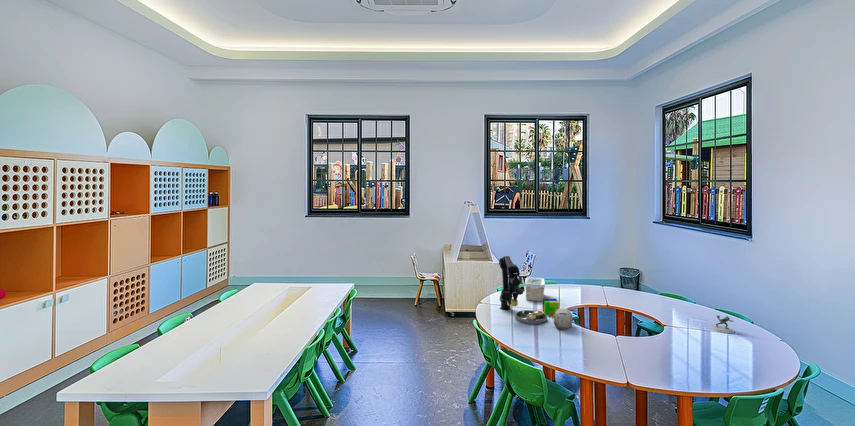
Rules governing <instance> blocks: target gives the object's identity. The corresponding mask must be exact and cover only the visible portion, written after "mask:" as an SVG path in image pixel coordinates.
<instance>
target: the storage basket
mask: <svg viewBox="0 0 855 426" xmlns="http://www.w3.org/2000/svg"><path fill="white" fill-rule="evenodd" d="M524 282H525V283H524V289H525V300H527V301H536V302H537V301H538V302H543V298H545V293H544V292H545V287H546V282H545V278H544V277H526V278H525V281H524Z"/></svg>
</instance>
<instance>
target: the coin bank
mask: <svg viewBox="0 0 855 426" xmlns="http://www.w3.org/2000/svg"><path fill="white" fill-rule="evenodd" d="M552 318H553V323H554V325H555V326H556V328H558V329H560V330H568V329H569V328H571V327H573V320H574V317H573V315H572V313H571V311H570V310H569V309H567V308H563V307H562V308H560V307H559V309H557V310H556V312H555V314H554V315H552Z"/></svg>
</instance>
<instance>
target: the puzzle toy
mask: <svg viewBox="0 0 855 426" xmlns="http://www.w3.org/2000/svg"><path fill="white" fill-rule="evenodd" d="M557 309H560V302H559V301H558V299H557V298H545V297H544V298H543V301H542V313H544V314H546V316H553V315H554V314H555V312H556V310H557Z"/></svg>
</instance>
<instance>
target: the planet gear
mask: <svg viewBox="0 0 855 426" xmlns="http://www.w3.org/2000/svg"><path fill="white" fill-rule="evenodd" d="M518 303H519V300H518V298H517V299H513V298H512V299H511V305H509V303H508V301H507V304H508V306H510V307H517V306H519V304H518Z"/></svg>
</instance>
